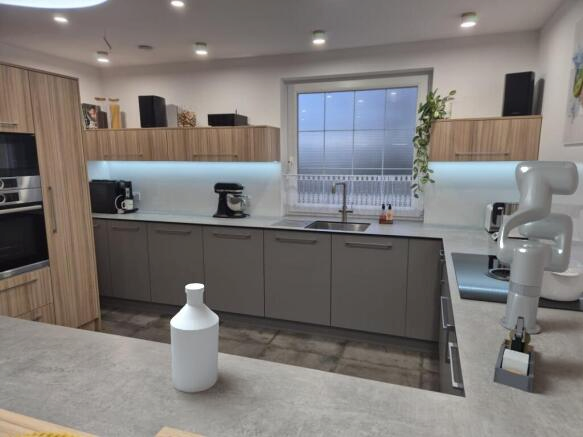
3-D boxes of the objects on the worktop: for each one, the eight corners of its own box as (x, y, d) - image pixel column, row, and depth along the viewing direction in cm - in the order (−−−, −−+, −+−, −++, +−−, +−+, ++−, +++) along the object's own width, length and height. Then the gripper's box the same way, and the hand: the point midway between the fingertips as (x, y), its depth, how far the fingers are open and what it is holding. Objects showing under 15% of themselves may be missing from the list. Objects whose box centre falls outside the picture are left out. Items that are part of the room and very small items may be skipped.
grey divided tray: (500, 355, 113) (501, 342, 112) (533, 364, 108) (535, 351, 107) (493, 381, 99) (495, 366, 98) (531, 392, 94) (533, 377, 93)
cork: (532, 373, 103) (537, 336, 101) (510, 371, 104) (514, 335, 102) (521, 362, 109) (526, 327, 107) (500, 360, 110) (504, 325, 108)
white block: (502, 371, 104) (505, 348, 103) (525, 378, 101) (528, 354, 100) (500, 380, 99) (503, 356, 98) (524, 388, 96) (528, 363, 95)
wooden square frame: (503, 344, 120) (504, 338, 120) (534, 352, 116) (534, 346, 115) (500, 354, 113) (501, 348, 113) (533, 363, 109) (534, 357, 108)
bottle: (193, 399, 87) (193, 298, 84) (161, 382, 94) (159, 287, 90) (228, 376, 97) (228, 285, 94) (196, 362, 103) (196, 276, 100)
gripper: (511, 279, 113) (505, 334, 115) (506, 294, 99) (499, 356, 101) (541, 284, 108) (533, 341, 111) (540, 300, 94) (532, 365, 97)
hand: (517, 348), depth 106 cm, fingers open, 6 cm apart
